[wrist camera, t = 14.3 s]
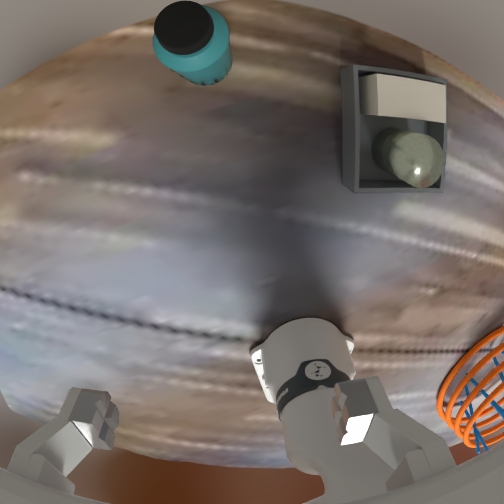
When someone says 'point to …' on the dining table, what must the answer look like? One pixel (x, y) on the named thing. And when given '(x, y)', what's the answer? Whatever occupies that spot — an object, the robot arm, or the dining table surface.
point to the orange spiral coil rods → (479, 412)
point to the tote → (368, 126)
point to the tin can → (409, 156)
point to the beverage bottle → (193, 42)
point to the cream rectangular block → (402, 98)
